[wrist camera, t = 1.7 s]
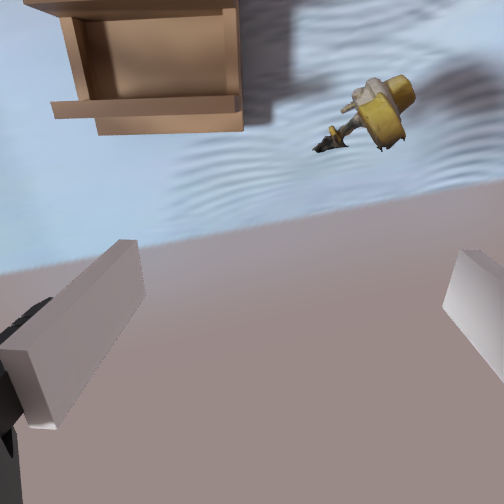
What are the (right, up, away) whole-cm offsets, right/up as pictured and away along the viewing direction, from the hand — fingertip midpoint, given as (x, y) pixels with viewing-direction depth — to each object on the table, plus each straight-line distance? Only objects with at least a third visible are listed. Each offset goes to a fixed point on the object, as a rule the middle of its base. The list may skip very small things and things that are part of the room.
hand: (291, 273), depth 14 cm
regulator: (+7, +15, +19) cm, 24 cm away
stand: (-10, +19, +17) cm, 27 cm away
